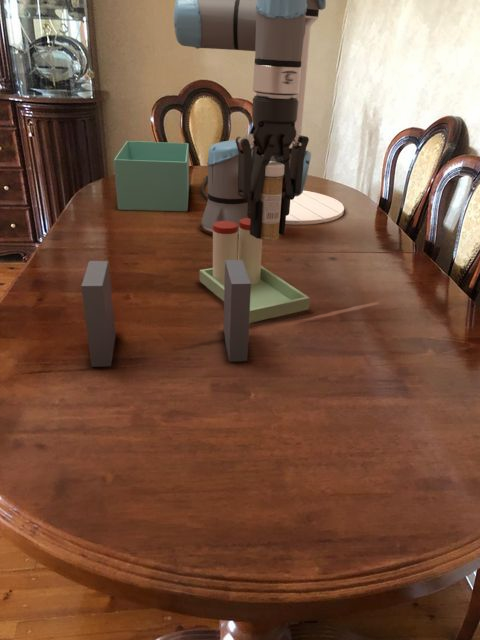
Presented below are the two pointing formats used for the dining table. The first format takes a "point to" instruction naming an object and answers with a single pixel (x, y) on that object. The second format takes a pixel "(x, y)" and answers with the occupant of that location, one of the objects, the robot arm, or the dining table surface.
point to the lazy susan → (313, 209)
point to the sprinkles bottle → (271, 201)
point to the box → (152, 176)
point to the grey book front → (99, 313)
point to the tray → (264, 295)
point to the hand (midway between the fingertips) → (267, 234)
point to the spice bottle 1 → (223, 247)
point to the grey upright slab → (236, 310)
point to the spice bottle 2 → (249, 251)
